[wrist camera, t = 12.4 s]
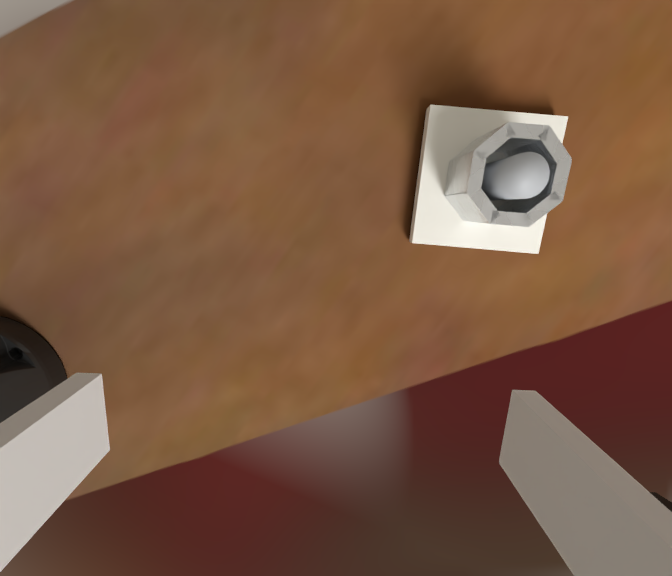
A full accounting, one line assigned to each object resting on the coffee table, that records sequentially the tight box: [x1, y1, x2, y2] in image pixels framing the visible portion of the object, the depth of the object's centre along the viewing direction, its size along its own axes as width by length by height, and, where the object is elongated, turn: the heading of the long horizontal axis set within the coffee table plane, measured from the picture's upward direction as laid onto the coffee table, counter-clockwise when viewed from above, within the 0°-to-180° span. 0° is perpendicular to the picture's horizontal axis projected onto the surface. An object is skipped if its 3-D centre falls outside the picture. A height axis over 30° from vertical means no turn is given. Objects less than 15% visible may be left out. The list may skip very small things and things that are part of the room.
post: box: [409, 105, 568, 254], centre depth 29 cm, size 12×12×8 cm
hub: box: [444, 122, 572, 227], centre depth 29 cm, size 7×7×6 cm
